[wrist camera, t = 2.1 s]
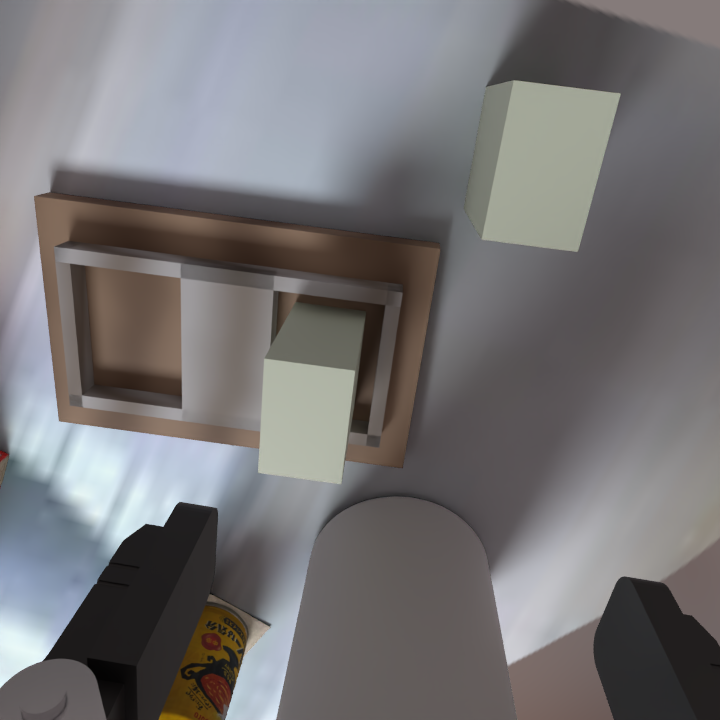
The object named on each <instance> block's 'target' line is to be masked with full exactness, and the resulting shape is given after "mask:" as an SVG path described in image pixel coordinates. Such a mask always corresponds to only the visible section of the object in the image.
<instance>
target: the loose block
mask: <svg viewBox="0 0 720 720" xmlns="http://www.w3.org/2000/svg"><path fill="white" fill-rule="evenodd" d="M620 95H621V94H620V93H612V92H604V91H596V90H588V89H580V88H572V87H564V86H556V85H548V84H540V83H532V82H524V81H516V80H513V81H509V82H504V83H500V84H496V85H492V86H488V87H486V90H485V95H484V101H483V106H482V111H481V117H480V122H479V128H478V133H477V139H476V144H475V149H474V155H473V160H472V166H471V171H470V177H469V182H468V187H467V193H466V198H465V204H464V210H465V212H466V214H467V215H468V217H469V219H470V220H471V222H472V224H473V226H474V227H475V229H476V231H477V232H478V234H479V236H480V238H481V239H482V240H488V241H496V242H504V243H512V244H519V245H527V246H535V247H542V248H550V249H558V250H566V251H573V252H578V250H579V246H580V242H581V239H582V235H583V231H584V227H585V224H586V220H587V216H588V213H589V209H590V205H591V202H592V198H593V194H594V191H595V187H596V183H597V180H598V176H599V172H600V169H601V165H602V161H603V157H604V154H605V150H606V146H607V143H608V139H609V135H610V132H611V128H612V124H613V121H614V117H615V113H616V110H617V106H618V102H619V99H620Z"/></svg>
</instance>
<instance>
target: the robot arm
mask: <svg viewBox="0 0 720 720" xmlns="http://www.w3.org/2000/svg"><path fill="white" fill-rule="evenodd" d="M217 524H218V511H217V508H214V507H207V506H201V505H195V504H189V503H183V502H179V503H178V504H177V505H176V506H175V508H174V510H173V511H172V513H171V515H170V517H169V518H168V520H167V522H166V523H165V525H164V527H161V526H155V525H149V524H145V525H144V526H143V527H141V528H140V529H139V530H137V531H136V532H134V533H133V534H132V535H130V536H129V537H128V538H126V539H125V540H124V541H123V542H122V543H121V545H120V547H119V548H118V550H117V551H116V553H115V554H114V556H113V557H112V559H111V560H110V562H109V565H108V566H106V568H105V569H104V571H103V572H102V574H101V575H100V577H99V578H98V581H97V584H94V586H93V587H92V589H91V590H90V592H89V593H88V595H87V597H86V598H85V600H84V601H83V603H82V604H81V606H80V607H79V609H78V610H77V612H76V613H75V615H74V616H73V618H72V619H71V621H70V622H69V624H68V625H67V627H66V628H65V630H64V631H63V633H62V634H61V636H60V637H59V639H58V640H57V642H56V643H55V645H54V647H53V648H52V650H51V651H50V653H49V654H48V655H47V656H46V658H45V659H44V660H43V661H42V662H39V663H36V664H34V665H32V666H29V667H27V668H25V669H24V670H22V671H20V672H19V673H17V674H16V675H14V676H13V677H12V678H10V679H9V680H8V681H7V682H6V683H5V684H4V685H3V686H2V687H1V688H0V720H159V717H160V715H161V712H162V710H163V707H164V705H165V702H166V700H167V698H168V695H169V693H170V690H171V688H172V685H173V683H174V680H175V678H176V676H177V673H178V671H179V668H180V666H181V663H182V661H183V658H184V656H185V654H186V651H187V649H188V646H189V644H190V641H191V639H192V636H193V634H194V632H195V629H196V627H197V624H198V622H199V619H200V617H201V614H202V612H203V609H204V607H205V605H206V602H207V600H208V597H209V594H210V591H211V587H212V583H213V578H214V573H215V562H216V543H217ZM594 659H595V664H596V668H597V671H598V674H599V677H600V680H601V683H602V686H603V689H604V692H605V694H606V697H607V700H608V703H609V706H610V709H611V712H612V715H613V718H614V720H720V646H719V645H718V643H717V641H716V640H715V639H714V638H713V637H712V636H711V635H710V634H709V633H708V632H707V631H706V630H705V629H704V628H703V627H702V626H701V625H700V623H699V622H697V620H695V619H694V617H692V616H690V615H684V614H683V613H682V611H681V610H680V608H679V606H678V604H677V602H676V600H675V599H674V597H673V595H672V593H671V591H670V590H669V588H668V587H667V586H666V585H665V584H664V583H661V582H655V581H649V580H643V579H637V578H631V577H621V578H620V579H619V580H618V581H617V583H616V585H615V587H614V590H613V592H612V594H611V597H610V599H609V601H608V604H607V606H606V608H605V611H604V613H603V615H602V618H601V620H600V623H599V625H598V627H597V630H596V633H595V637H594Z"/></svg>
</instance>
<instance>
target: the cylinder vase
mask: <svg viewBox="0 0 720 720" xmlns="http://www.w3.org/2000/svg"><path fill="white" fill-rule="evenodd" d="M276 720H517V716H516V710H515V705H514V700H513V695H512V689H511V683H510V678H509V672H508V667H507V662H506V656H505V651H504V645H503V640H502V634H501V629H500V624H499V618H498V613H497V607H496V602H495V597H494V591H493V586H492V580H491V575H490V569H489V564H488V559H487V555H486V552H485V549H484V547H483V545H482V543H481V541H480V539H479V538H478V536H477V535H476V533H475V532H474V531H473V529H472V528H471V527H470V526H469V525H468V524H467V523H466V522H465V521H464V520H462V519H461V518H460V517H459V516H457V515H456V514H454V513H453V512H451V511H450V510H448V509H446V508H444V507H442V506H440V505H437V504H435V503H432V502H429V501H426V500H422V499H417V498H412V497H400V496H391V497H381V498H375V499H370V500H367V501H363V502H360V503H358V504H355V505H353V506H351V507H349V508H347V509H345V510H344V511H342V512H341V513H339V514H338V515H336V516H335V517H334V518H333V519H332V520H331V521H330V522H329V523H328V524H327V525H326V526H325V527H324V528H323V529H322V531H321V532H320V534H319V535H318V537H317V539H316V541H315V543H314V546H313V548H312V552H311V556H310V561H309V566H308V570H307V575H306V580H305V585H304V590H303V594H302V599H301V604H300V609H299V614H298V618H297V623H296V628H295V633H294V638H293V642H292V647H291V652H290V657H289V662H288V666H287V671H286V676H285V681H284V686H283V690H282V695H281V700H280V705H279V709H278V714H277V719H276Z"/></svg>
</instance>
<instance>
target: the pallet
mask: <svg viewBox="0 0 720 720" xmlns="http://www.w3.org/2000/svg"><path fill="white" fill-rule="evenodd" d="M34 200H35V209H36V218H37V227H38V236H39V245H40V254H41V263H42V272H43V281H44V290H45V299H46V308H47V317H48V326H49V335H50V344H51V353H52V362H53V371H54V380H55V389H56V398H57V407H58V416H59V421H61V422H68V423H76V424H83V425H90V426H98V427H105V428H112V429H119V430H127V431H134V432H141V433H149V434H156V435H163V436H171V437H178V438H185V439H192V440H200V441H207V442H214V443H222V444H229V445H236V446H243V447H251V448H258V449H259V448H260V428H261V409H262V390H263V371H264V358H265V356H266V354H267V353H268V351H269V349H270V347H271V345H272V344H273V342H274V340H275V338H276V336H277V335H278V333H279V331H280V329H281V327H282V326H283V324H284V322H285V320H286V318H287V317H288V315H289V313H290V311H291V309H292V308H293V306H294V304H295V302H300V303H307V304H315V305H322V306H330V307H337V308H345V309H352V310H360V311H366V318H365V325H364V333H363V341H362V349H361V357H360V365H359V373H358V381H357V389H356V397H355V405H354V411H353V417H352V423H351V429H350V435H349V441H348V447H347V453H346V459H345V460H346V461H353V462H360V463H367V464H375V465H382V466H389V467H397V468H403V463H404V457H405V451H406V446H407V440H408V434H409V428H410V423H411V417H412V411H413V405H414V399H415V394H416V388H417V382H418V376H419V371H420V365H421V359H422V353H423V348H424V342H425V336H426V330H427V324H428V319H429V313H430V307H431V301H432V296H433V290H434V284H435V278H436V273H437V267H438V261H439V255H440V245H439V243H435V242H427V241H420V240H412V239H404V238H397V237H389V236H381V235H374V234H366V233H358V232H350V231H343V230H335V229H327V228H320V227H312V226H304V225H297V224H289V223H281V222H274V221H266V220H258V219H251V218H243V217H235V216H227V215H220V214H212V213H204V212H197V211H189V210H181V209H174V208H166V207H158V206H151V205H143V204H135V203H127V202H120V201H112V200H104V199H97V198H89V197H81V196H74V195H66V194H58V193H51V192H49V193H45V194H41V195H37V196H34Z"/></svg>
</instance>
